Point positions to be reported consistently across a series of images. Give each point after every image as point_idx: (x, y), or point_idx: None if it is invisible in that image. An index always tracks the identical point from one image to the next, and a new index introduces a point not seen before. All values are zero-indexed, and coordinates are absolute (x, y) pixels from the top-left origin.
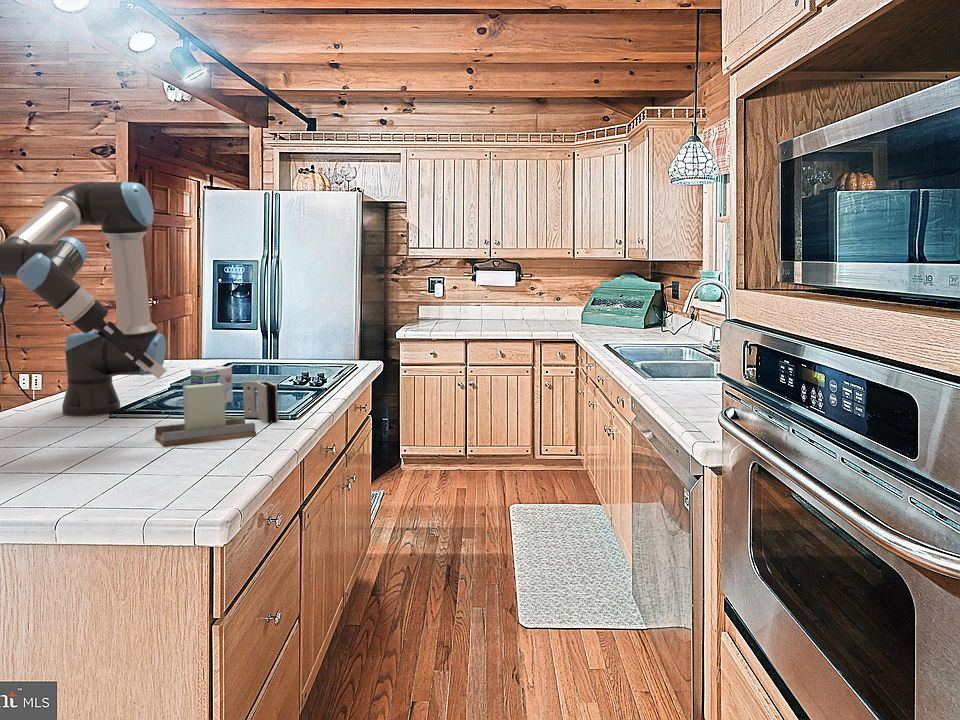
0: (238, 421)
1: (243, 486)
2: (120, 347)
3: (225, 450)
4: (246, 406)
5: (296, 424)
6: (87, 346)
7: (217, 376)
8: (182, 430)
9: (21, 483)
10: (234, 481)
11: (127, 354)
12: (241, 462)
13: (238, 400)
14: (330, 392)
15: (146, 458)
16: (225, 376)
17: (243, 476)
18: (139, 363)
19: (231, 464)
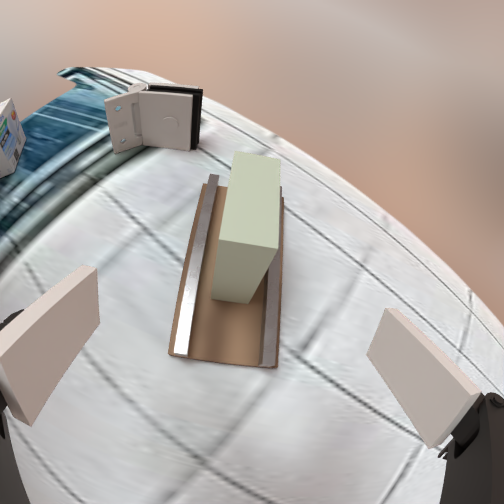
0: (216, 188)
1: (490, 325)
2: (14, 474)
3: (361, 284)
4: (117, 138)
5: (235, 134)
6: None
7: (5, 121)
8: (196, 297)
9: None
10: (480, 328)
11: (33, 410)
12: (428, 293)
13: (28, 132)
14: (96, 67)
15: (350, 418)
16: (10, 114)
17: (470, 314)
18: (421, 430)
19: (432, 308)
